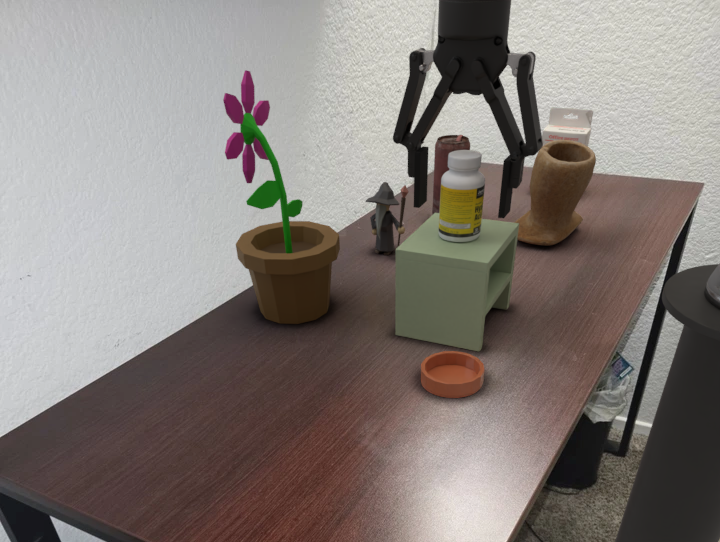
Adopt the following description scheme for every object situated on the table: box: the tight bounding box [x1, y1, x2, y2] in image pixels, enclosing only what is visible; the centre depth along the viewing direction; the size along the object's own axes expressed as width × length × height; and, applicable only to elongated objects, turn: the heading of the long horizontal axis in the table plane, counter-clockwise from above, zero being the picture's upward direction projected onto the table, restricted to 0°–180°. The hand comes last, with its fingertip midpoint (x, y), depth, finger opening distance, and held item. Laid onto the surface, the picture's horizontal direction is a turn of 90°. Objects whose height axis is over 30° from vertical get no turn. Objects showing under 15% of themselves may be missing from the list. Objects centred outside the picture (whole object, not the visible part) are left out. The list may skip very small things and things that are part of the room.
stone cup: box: [513, 140, 597, 246], centre depth 110 cm, size 15×12×15 cm
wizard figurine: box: [365, 181, 409, 256], centre depth 108 cm, size 8×6×12 cm
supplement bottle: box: [438, 149, 486, 242], centre depth 82 cm, size 5×5×10 cm
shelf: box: [394, 213, 519, 352], centre depth 89 cm, size 12×14×12 cm
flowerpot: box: [222, 70, 341, 325], centre depth 88 cm, size 14×14×30 cm
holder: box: [420, 350, 485, 399], centre depth 80 cm, size 8×8×2 cm
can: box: [431, 134, 471, 216], centre depth 118 cm, size 6×6×14 cm
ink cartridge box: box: [541, 106, 594, 147], centre depth 127 cm, size 9×5×15 cm, turn 66°
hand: (461, 209), depth 83 cm, fingers open, 10 cm apart
